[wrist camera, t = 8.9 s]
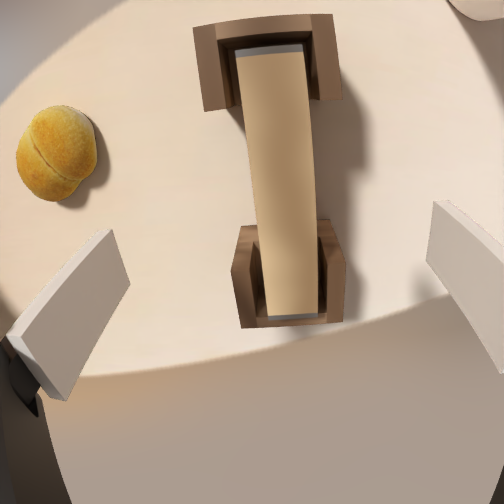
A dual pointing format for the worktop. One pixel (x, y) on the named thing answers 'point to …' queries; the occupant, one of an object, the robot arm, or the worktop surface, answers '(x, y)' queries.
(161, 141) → the worktop surface
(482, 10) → the can
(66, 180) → the bread roll
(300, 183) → the rail
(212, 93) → the post
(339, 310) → the post
